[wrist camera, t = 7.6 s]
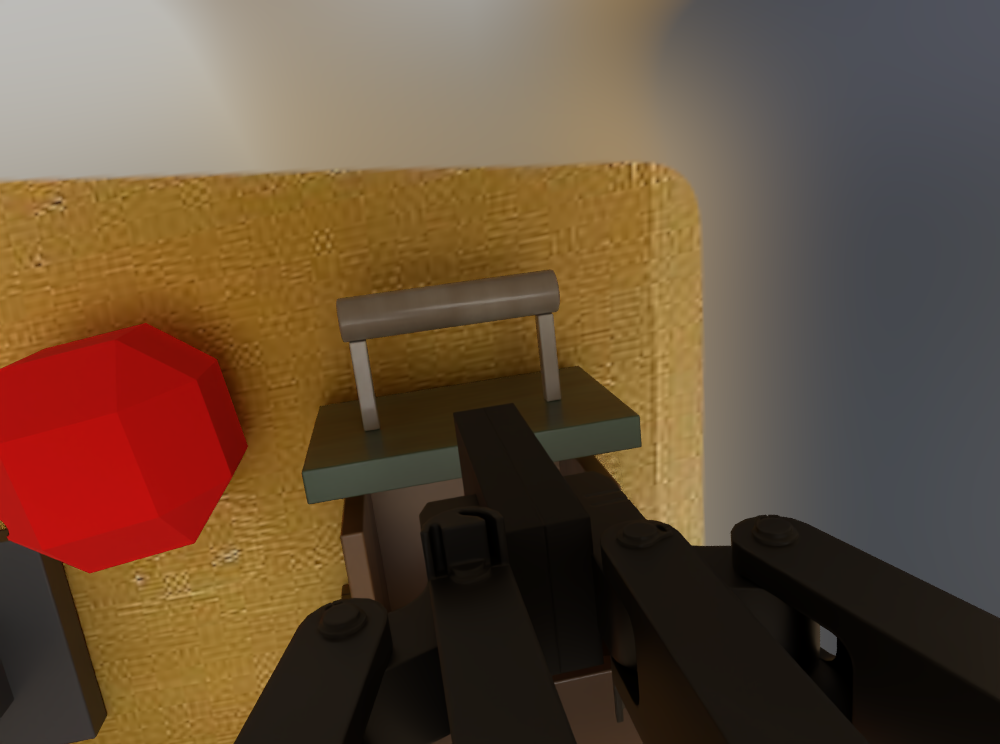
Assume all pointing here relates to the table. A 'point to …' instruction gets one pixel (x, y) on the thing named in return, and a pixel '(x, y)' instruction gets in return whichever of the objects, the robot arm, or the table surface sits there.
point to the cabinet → (584, 704)
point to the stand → (42, 654)
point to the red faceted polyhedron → (114, 447)
